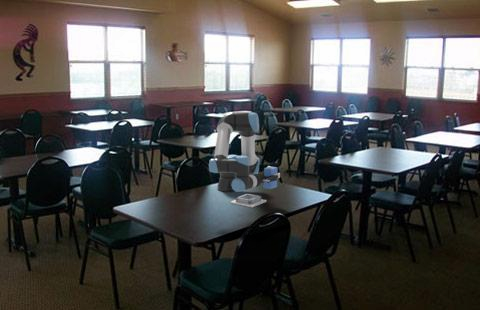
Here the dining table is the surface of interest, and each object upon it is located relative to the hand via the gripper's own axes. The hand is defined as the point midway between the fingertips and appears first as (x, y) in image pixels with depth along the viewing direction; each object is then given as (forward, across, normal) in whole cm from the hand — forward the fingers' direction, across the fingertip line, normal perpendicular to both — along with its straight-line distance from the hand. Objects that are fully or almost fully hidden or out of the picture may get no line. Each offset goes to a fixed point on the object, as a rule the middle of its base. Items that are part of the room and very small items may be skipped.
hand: (275, 174), depth 300 cm
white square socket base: (-9, -13, -18) cm, 24 cm away
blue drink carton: (-5, 0, -7) cm, 9 cm away
